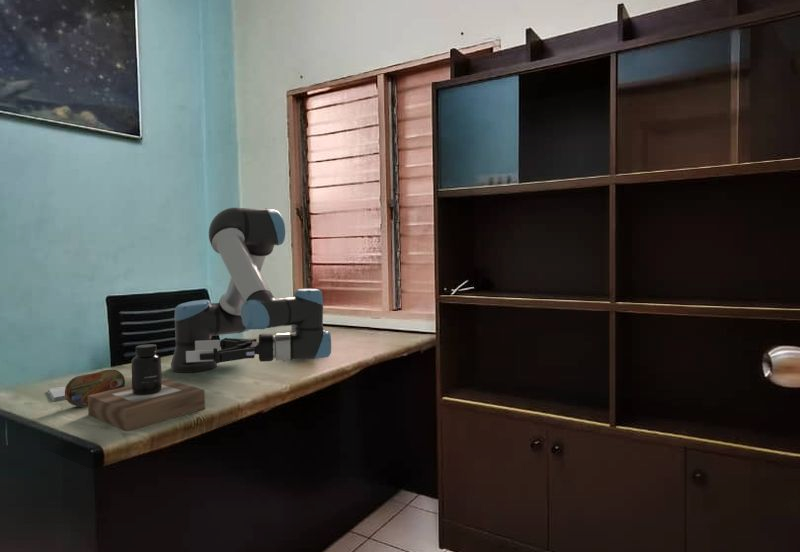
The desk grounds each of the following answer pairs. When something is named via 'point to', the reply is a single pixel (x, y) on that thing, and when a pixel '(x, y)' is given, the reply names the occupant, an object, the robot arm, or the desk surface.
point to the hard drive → (57, 393)
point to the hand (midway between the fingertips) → (190, 351)
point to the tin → (92, 386)
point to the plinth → (145, 405)
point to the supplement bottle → (146, 370)
